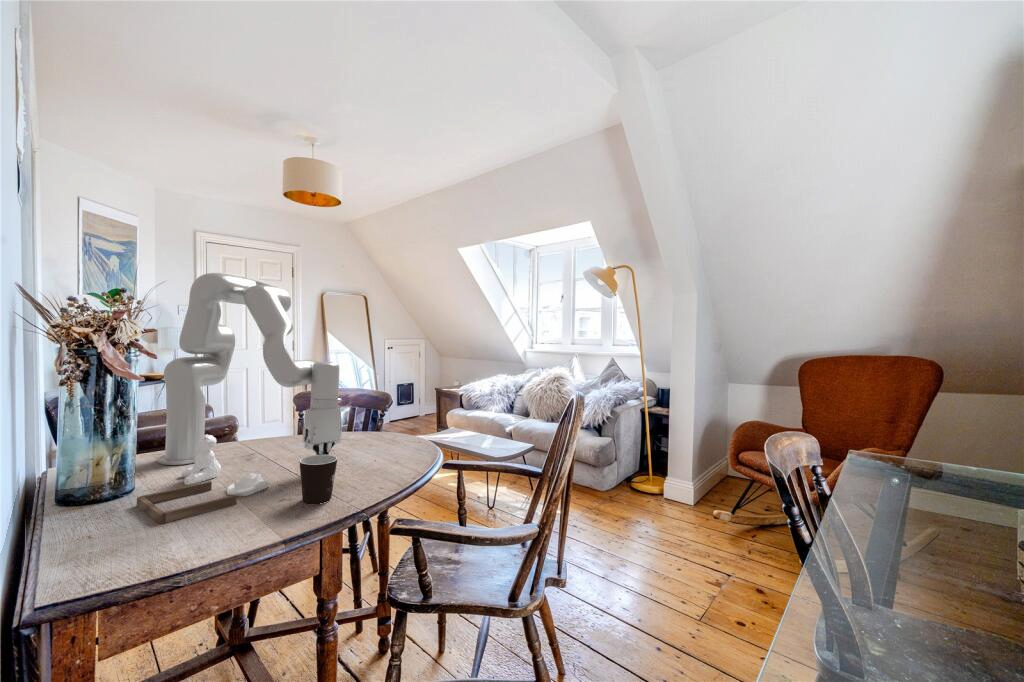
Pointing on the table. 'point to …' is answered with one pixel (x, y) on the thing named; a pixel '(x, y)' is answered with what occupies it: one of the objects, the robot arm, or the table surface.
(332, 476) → the coffee mug
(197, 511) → the walnut bay
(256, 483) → the rose
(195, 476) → the seated beast figurine
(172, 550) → the table surface
